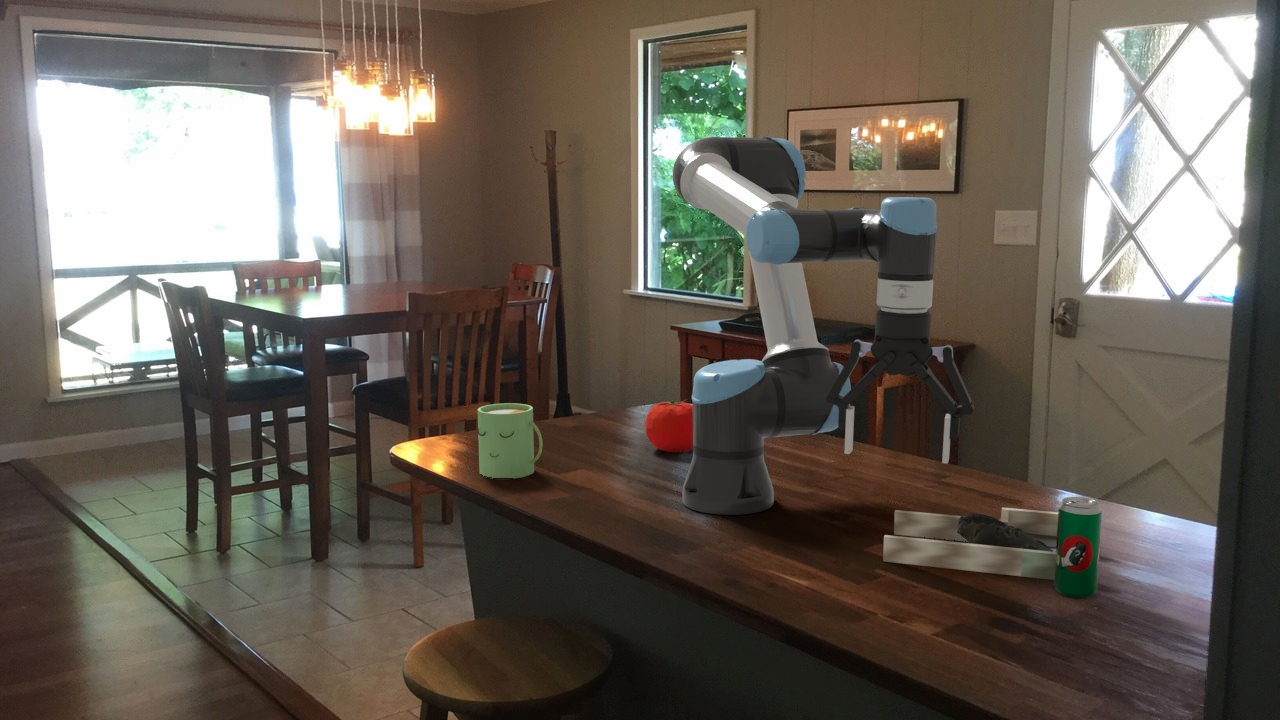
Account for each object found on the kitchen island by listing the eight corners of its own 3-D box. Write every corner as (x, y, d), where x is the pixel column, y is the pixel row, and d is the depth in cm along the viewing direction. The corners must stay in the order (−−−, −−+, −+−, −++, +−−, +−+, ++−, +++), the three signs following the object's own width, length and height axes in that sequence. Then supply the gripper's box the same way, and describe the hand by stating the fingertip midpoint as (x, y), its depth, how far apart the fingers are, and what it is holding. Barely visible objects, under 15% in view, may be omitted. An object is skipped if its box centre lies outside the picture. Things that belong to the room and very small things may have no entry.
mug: (468, 476, 192) (466, 412, 190) (496, 463, 202) (495, 401, 200) (529, 482, 187) (527, 417, 186) (555, 469, 197) (554, 406, 195)
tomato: (713, 448, 212) (714, 398, 211) (685, 460, 203) (685, 408, 201) (663, 441, 219) (663, 393, 217) (633, 452, 209) (633, 402, 208)
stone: (1048, 572, 142) (1051, 534, 141) (950, 553, 149) (952, 517, 148) (1058, 558, 147) (1061, 521, 147) (963, 540, 155) (965, 505, 154)
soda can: (1105, 598, 132) (1111, 505, 130) (1069, 601, 131) (1074, 508, 129) (1080, 583, 137) (1085, 494, 135) (1045, 587, 136) (1050, 497, 134)
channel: (883, 561, 146) (883, 537, 145) (899, 520, 164) (900, 498, 164) (1094, 584, 136) (1096, 558, 136) (1086, 537, 155) (1087, 515, 154)
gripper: (809, 307, 147) (804, 454, 151) (997, 317, 139) (986, 472, 142) (819, 301, 154) (814, 441, 158) (998, 310, 145) (988, 458, 149)
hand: (896, 456), depth 150 cm, fingers open, 13 cm apart
